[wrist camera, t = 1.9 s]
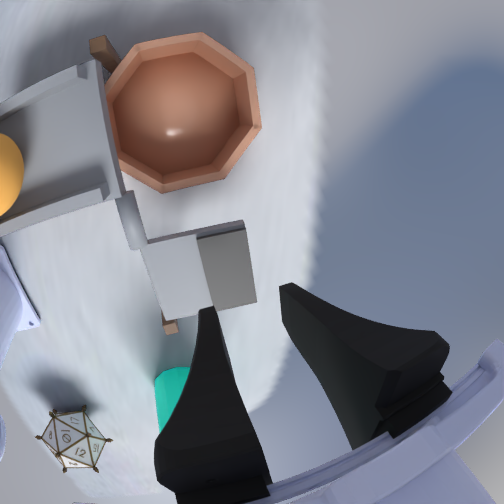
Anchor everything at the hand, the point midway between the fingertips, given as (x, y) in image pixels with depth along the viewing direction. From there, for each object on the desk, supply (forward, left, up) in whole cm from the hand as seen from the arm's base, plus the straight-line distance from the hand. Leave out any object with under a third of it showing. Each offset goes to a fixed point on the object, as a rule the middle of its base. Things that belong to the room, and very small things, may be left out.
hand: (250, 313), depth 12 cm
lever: (-6, +5, -5) cm, 9 cm away
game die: (-22, -18, -11) cm, 30 cm away
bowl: (-1, +9, -10) cm, 14 cm away
